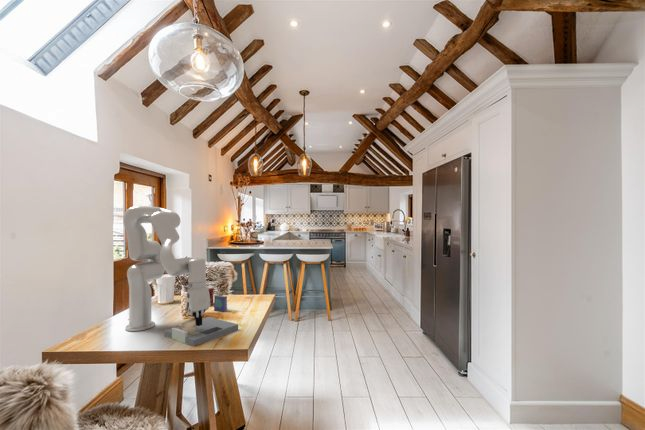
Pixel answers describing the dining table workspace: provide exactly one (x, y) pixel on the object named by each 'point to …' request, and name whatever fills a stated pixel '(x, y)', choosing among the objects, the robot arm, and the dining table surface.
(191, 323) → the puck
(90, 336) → the dining table surface
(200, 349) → the dining table surface
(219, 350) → the dining table surface
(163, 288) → the cup
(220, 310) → the blue box
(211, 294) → the canned food
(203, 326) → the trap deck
